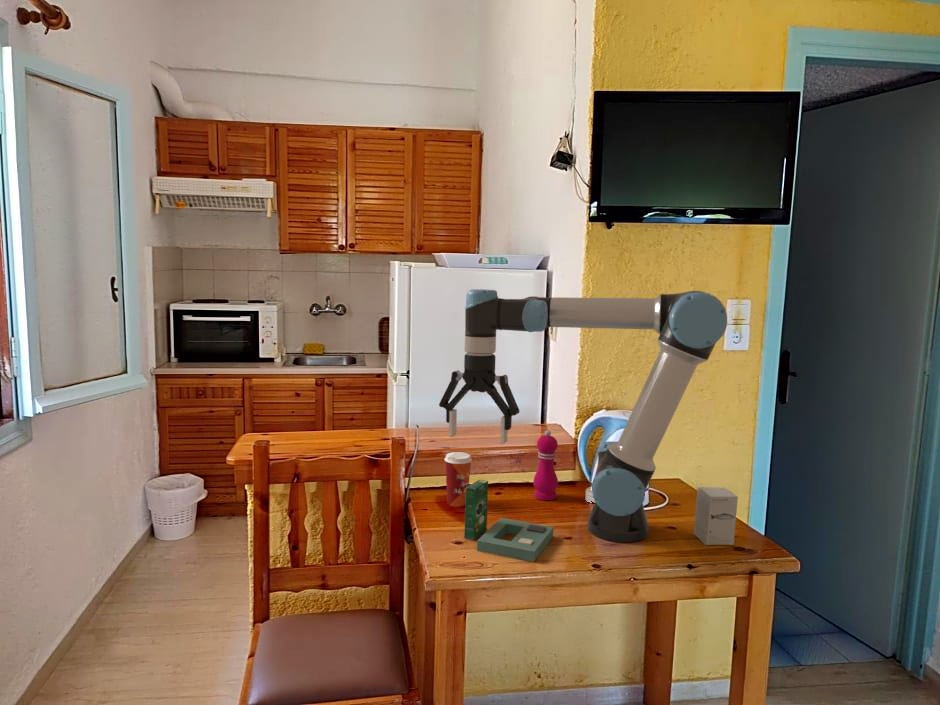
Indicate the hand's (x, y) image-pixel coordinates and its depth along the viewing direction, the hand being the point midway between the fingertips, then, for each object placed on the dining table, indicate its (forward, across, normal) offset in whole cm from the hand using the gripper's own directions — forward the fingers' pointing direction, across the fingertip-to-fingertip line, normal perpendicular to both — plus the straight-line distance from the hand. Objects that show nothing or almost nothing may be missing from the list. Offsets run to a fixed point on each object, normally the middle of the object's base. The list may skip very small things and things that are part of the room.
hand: (477, 439), depth 164 cm
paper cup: (+24, +13, -18) cm, 33 cm away
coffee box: (+25, 0, 0) cm, 25 cm away
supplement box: (+25, -55, -23) cm, 65 cm away
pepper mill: (+24, -8, -34) cm, 43 cm away
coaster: (+25, -24, -38) cm, 51 cm away
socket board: (+24, -11, +1) cm, 27 cm away
